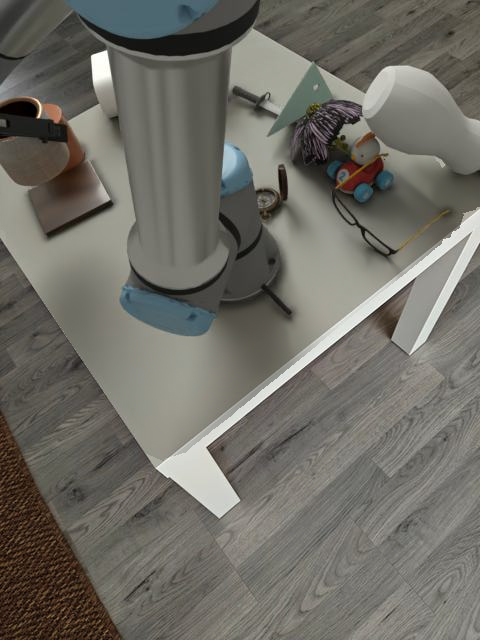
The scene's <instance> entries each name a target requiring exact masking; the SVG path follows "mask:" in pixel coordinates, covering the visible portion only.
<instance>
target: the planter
mask: <svg viewBox="0 0 480 640" xmlns="http://www.w3.org/2000/svg"><path fill="white" fill-rule="evenodd" d="M42 104H43V103H41V101H39V99H37V98H35V97H32V96H25V95H24V96H16V97H11V98H8V99H6V100H3V101H1V102H0V113H3V114H8V115H16V116H24V117H33V118H41V119H50V118H49V116H48V114H47V113H46V111H45V109H44V108H43V106H42ZM69 157H70V152H69V149H68V147H67V145H66V143H63V142H55V141H48V143H47V144H44V143H42V140H39V138H32V137H16V136H1V137H0V167H2V169H3V170H4V171H5V173H6V174H7V175H8V177H9V178H10V179H11V181H13V182H14V183H15V184H16V185H19V186H23V187H36V186H38V185H41V184H44V183H46V182H49V181H51V180H52V179H54V178H55V177H57V176H58V175H59V174H60V173H61V172H62V171H63V170H64V168H65V167H66V165H67V163H68V161H69Z"/></svg>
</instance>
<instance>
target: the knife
mask: <svg viewBox="0 0 480 640" xmlns="http://www.w3.org/2000/svg"><path fill="white" fill-rule="evenodd" d="M231 94H232V95H234V96H237V97H240V98H241V99H244V100H245V101H248V102H250V103H253V104H254V105H253V111H254V112H256V111H259V110H261V109H262V108H263V109H265V110H267V111H269V112H272V113H273V114H275V115H278V116H279V114H280V113H281V111H282V110H283V108H284V107H283V106H280V105H278V104H276V103H274V102H272V101H270V99H271V95H272V94H271V92H269V91H266V92H265V93H264V94H262V95H261V96H258V95H256V94H254V93H252V92H250V91H247V90H246V89H243V88H242V87H240V86H238V85H234V86H233V87H232V90H231ZM267 95H268V98H267V99H266V97H267ZM301 119H302V118H300V119H298V120H296V121H295V122H294V123H297V124H298V123H299V121H300V120H301Z"/></svg>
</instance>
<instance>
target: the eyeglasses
mask: <svg viewBox="0 0 480 640" xmlns="http://www.w3.org/2000/svg"><path fill="white" fill-rule="evenodd" d="M389 155H390V153H387V152H386V153H380V154H379V155H378V156H377V157H375V158H374V159H372V160H371V161H370V162H368V163H367V164H366V165H364V166H363V167H362V168H360V169H359V170H358V171H357V172H355V173H354V174H353V175H351V176H350V177H349V178H347V179H346V180H345V181H343V182H342V183H341V184H339V185H338V186H337V185H336V187H334V188H332V189H331V192H330V193H331V199H332V204H333V206H334V208H335V209H336V211H337V213H338V215H340V218H342V219H343V220H344V221H345V223H347V224H348V225H349V226H351V227H354V226H356V227H357V228H358V229H359V230H360V234H361V236H362V237H361V238H362V239H363V240H364V241H365V242H366V244H368V245H369V246H370V247H371V248H372V249H374V250H375V251H376V252H378V253H379V254H380V255H382V256H384V257H390V256H394V255H396V254H397V253H399V252H400V251H401V250H402V249H403V248H404V247H406V246H407V245H408V244H410V242H411V241H412V240H414V239H415V238H416V237H417V236H419V235H420V234H421V233H422V232H423V231H425V230H426V229H427V228H428V227H430V226H431V225H432V224H433V223H434V222H436V221H437V220H438V219H439V218H441V216H443V215H445V214H448V213H450V211H451V210H450V209H448V210H446V211H443V212H442V213H440V214H439V215H438V216H436V217H435V218H434V219H432V220H431V221H430V222H428V223H427V224H426V225H425V226H424V227H423V228H422V229H420V230H419V231H418V232H417V233H415V235H413V236H412V237H411V238H409V239H408V240H407V241H406V242H404V243H403V244H402V245H401V246H400V247H398V248H397V249H396V250H395V249H393V248H392V247H390V246H389V245H387V244H386V243H385V242H383V241H382V239H380V238H379V237H377V236H376V235H375V234H374V233H372V232H371V231H370V230H369V229H368V228H367V227H366V226H364V225H362V224H360V221H358V219H357V218H356V216H355V215H354V214H353V213H352V212H351V211H350V209H349V208H348V207H347V206H346V205H345V203H344V202H343V201H342V200H341V198H340V197H339V196H338V194H337V193H336V192H337V191H338V190H339V188H340V187H341V186H342V185H343V184H345V183H346V182H347V181H348V180H349V179H351V178H352V177H353V176H355V175H356V174H357V173H358V172H360V171H361V170H362V169H364V168H365V167H366V166H367V165H369V164H370V163H371V162H373V161H374V160H375V159H377V158H378V157H381V158H382V157H384V158H386V157H388V156H389ZM336 201H337V202H338V203H339V204H340V205H341V207H342V208H343V209H344V210H345V211H346V212H347V214H348V215H349V216H350V217H351V218H352V219H353V221H354V222H353V223H352V222H350V221H349V220H348V219H347V218H346V217H345V215H344V214H343V213H342V211H341V210H340V208H339V207H338V205H337V202H336ZM366 233H367V234H368V235H369V236H371V237H372V238H373V239H374V240H376V241H377V242H378V243H379V244H380V245H382V246H383V247H384V248H385V249H386V250H388V253H386V252H383V251H382V250H380V249H379V248H377V247H376V246H375V245H373V244H372V243H371V242H370V241H369V239H367V237H366Z"/></svg>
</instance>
